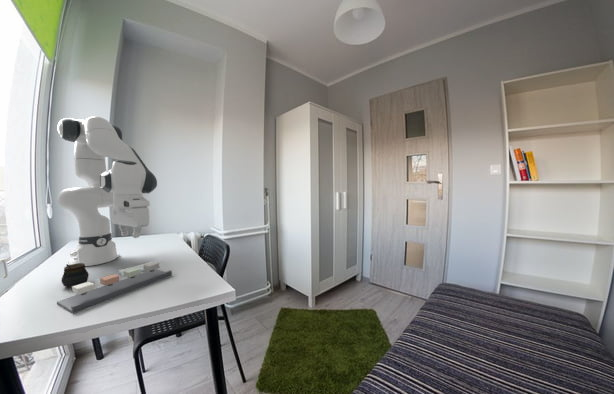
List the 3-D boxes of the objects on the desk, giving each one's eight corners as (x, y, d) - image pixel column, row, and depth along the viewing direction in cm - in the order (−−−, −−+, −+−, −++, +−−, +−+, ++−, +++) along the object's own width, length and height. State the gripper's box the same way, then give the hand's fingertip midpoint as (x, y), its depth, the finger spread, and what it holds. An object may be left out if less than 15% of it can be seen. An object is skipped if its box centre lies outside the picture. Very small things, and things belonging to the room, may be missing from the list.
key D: (123, 278, 82) (123, 270, 82) (135, 274, 86) (135, 267, 86) (129, 280, 81) (128, 272, 81) (141, 276, 84) (140, 268, 84)
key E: (100, 286, 76) (99, 278, 76) (114, 282, 80) (113, 273, 80) (105, 288, 74) (105, 280, 74) (119, 284, 78) (119, 275, 78)
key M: (143, 272, 89) (143, 264, 89) (154, 268, 92) (153, 261, 92) (149, 273, 87) (148, 266, 87) (159, 270, 91) (159, 263, 91)
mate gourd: (92, 279, 88) (90, 256, 88) (84, 287, 82) (82, 262, 81) (67, 283, 85) (66, 259, 84) (57, 291, 78) (55, 265, 77)
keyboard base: (56, 303, 70) (56, 297, 69) (154, 270, 97) (154, 266, 97) (73, 313, 64) (72, 307, 64) (171, 275, 91) (171, 270, 91)
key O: (72, 295, 70) (72, 286, 70) (89, 290, 73) (88, 281, 73) (78, 298, 68) (77, 289, 68) (94, 292, 72) (93, 283, 72)
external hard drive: (156, 268, 101) (123, 277, 91) (151, 264, 106) (118, 273, 96) (156, 265, 101) (123, 274, 91) (150, 261, 105) (118, 269, 96)
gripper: (105, 201, 83) (107, 235, 84) (132, 203, 75) (135, 241, 75) (124, 200, 89) (126, 232, 90) (152, 201, 80) (154, 237, 81)
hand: (130, 236), depth 83 cm, fingers open, 7 cm apart
